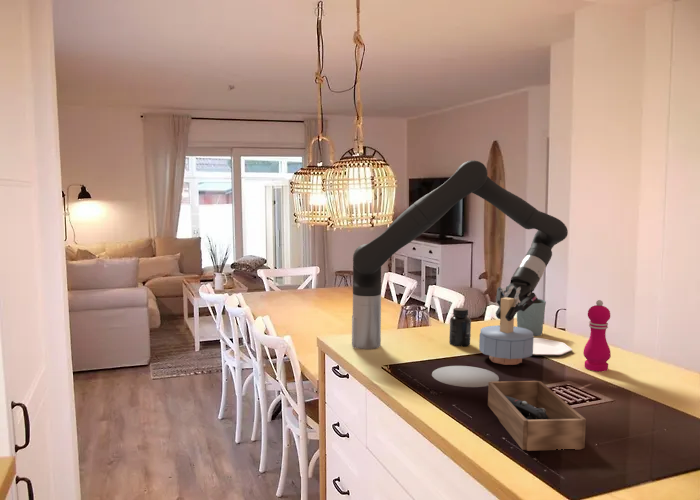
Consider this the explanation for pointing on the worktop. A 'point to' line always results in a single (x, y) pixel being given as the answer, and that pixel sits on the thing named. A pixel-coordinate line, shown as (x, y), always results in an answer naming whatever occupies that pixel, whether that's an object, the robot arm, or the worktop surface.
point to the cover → (506, 337)
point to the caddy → (540, 433)
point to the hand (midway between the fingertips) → (502, 318)
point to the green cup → (532, 317)
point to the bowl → (505, 360)
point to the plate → (549, 347)
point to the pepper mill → (597, 339)
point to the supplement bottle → (460, 328)
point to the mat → (464, 376)
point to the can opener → (528, 409)
